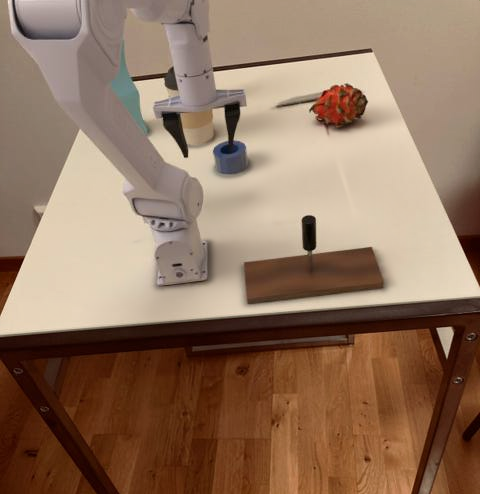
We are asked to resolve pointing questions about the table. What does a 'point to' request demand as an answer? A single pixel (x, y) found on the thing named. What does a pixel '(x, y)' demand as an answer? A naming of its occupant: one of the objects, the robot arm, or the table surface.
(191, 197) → the robot arm
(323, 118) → the dragon fruit
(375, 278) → the cutting board
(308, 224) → the screwdriver
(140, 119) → the vase
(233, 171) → the utensil cup
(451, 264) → the table surface
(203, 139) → the coffee cup
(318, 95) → the chef's knife
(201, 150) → the table surface
